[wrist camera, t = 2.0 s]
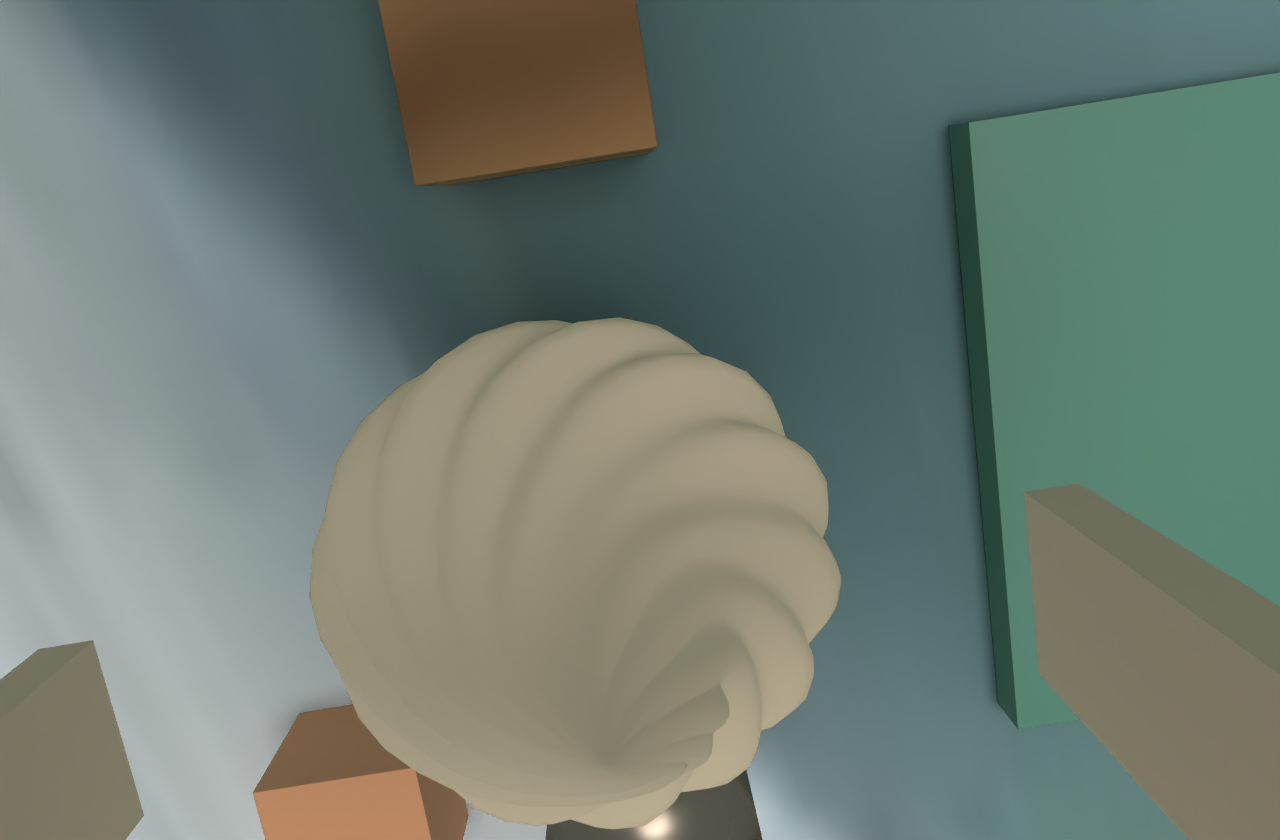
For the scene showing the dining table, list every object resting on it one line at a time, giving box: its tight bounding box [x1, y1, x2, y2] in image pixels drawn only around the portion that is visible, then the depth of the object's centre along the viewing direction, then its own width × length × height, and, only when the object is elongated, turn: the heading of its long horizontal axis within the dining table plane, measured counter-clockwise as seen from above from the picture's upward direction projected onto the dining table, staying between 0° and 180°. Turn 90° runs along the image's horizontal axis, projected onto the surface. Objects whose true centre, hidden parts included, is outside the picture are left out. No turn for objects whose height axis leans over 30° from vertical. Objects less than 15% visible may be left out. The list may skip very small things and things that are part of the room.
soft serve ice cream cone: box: [310, 317, 841, 829], centre depth 20 cm, size 8×8×16 cm
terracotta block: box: [253, 705, 468, 840], centre depth 28 cm, size 4×4×4 cm
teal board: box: [949, 73, 1280, 730], centre depth 27 cm, size 16×14×2 cm
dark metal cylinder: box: [546, 770, 762, 840], centre depth 26 cm, size 5×5×6 cm
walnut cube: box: [378, 0, 657, 186], centre depth 23 cm, size 5×5×5 cm
